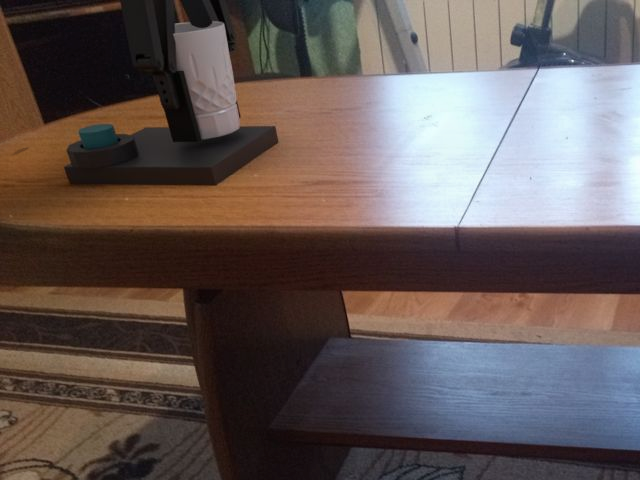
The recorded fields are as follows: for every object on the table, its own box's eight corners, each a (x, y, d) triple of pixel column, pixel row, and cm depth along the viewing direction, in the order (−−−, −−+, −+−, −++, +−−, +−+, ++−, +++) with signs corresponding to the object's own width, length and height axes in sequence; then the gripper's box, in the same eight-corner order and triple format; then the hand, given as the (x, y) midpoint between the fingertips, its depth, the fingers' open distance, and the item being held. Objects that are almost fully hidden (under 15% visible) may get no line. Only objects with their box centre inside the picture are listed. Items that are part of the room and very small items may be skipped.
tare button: (76, 150, 71) (70, 132, 70) (97, 141, 74) (91, 123, 73) (105, 150, 70) (99, 132, 69) (125, 141, 73) (120, 123, 72)
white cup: (174, 126, 79) (147, 25, 74) (249, 118, 80) (227, 18, 74) (162, 146, 72) (131, 37, 67) (243, 137, 73) (219, 29, 68)
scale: (65, 187, 72) (52, 152, 70) (150, 144, 84) (141, 112, 82) (213, 188, 68) (203, 151, 67) (279, 143, 80) (272, 110, 79)
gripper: (107, -142, 55) (188, 159, 67) (236, -136, 71) (283, 104, 83) (22, -134, 56) (116, 159, 68) (168, -130, 73) (223, 105, 85)
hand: (208, 128), depth 76 cm, fingers closed on white cup, 8 cm apart
